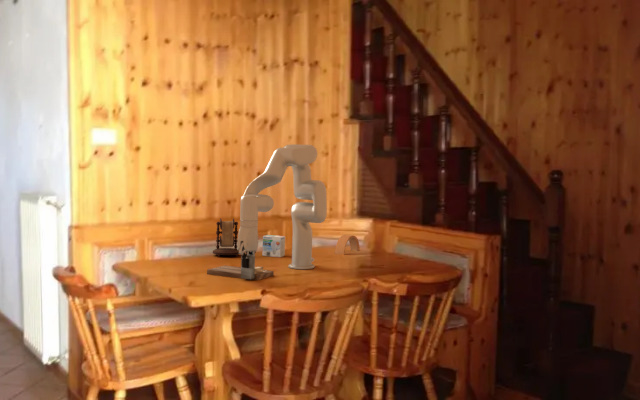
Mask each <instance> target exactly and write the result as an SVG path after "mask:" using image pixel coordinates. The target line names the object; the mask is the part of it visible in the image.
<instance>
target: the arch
mask: <svg viewBox="0 0 640 400" xmlns="http://www.w3.org/2000/svg"><path fill="white" fill-rule="evenodd" d="M348 243H349V247H350V248H349V249H350V251H352V250H356V251H355V252H360V250H361V249H360V248H361V246H360V243H359V239H358V238H357V236H356V235H351V234H342V235H341V236H339V238H338V240H337V241H336V244H335V251H334V255H341V254H344V255H345V253H346V252H345V251H346V247H347V244H348Z"/></svg>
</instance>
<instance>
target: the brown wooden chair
mask: <svg viewBox="0 0 640 400" xmlns="http://www.w3.org/2000/svg"><path fill="white" fill-rule="evenodd" d="M238 225H239V223H238V221H235V218H234V217H233V218H232V221H230V220H227V221H226V220H225V221H223V220H222V218H220V219H219V221H216V232H215V233H216V241H215V242H216V247H215V249H214V250H212V254H213V255H217V257H218V258H220V256H235V257H236V258H238V256H239V255H240V254H239V251H238V250H237V242H238V233H239V228H238ZM233 247H234V248H233Z"/></svg>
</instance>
